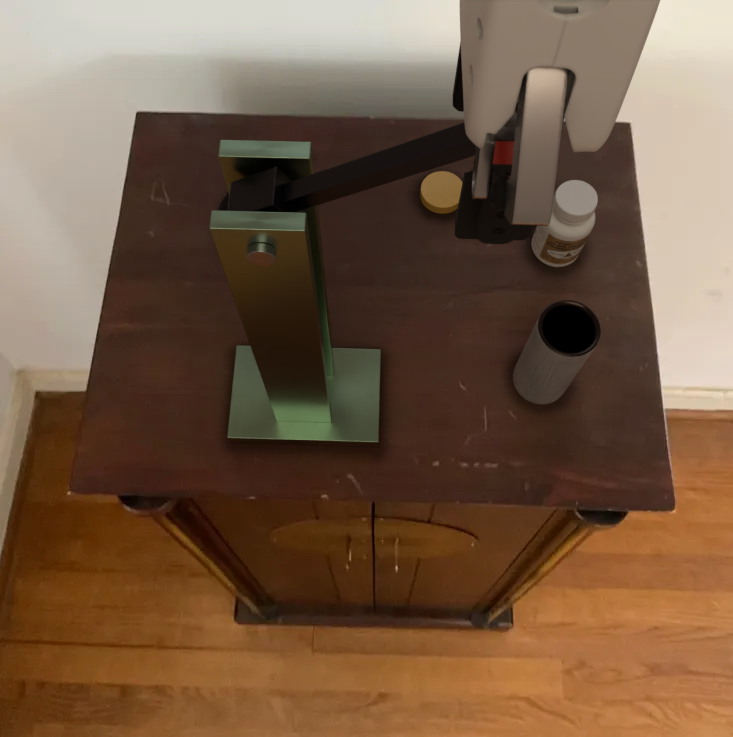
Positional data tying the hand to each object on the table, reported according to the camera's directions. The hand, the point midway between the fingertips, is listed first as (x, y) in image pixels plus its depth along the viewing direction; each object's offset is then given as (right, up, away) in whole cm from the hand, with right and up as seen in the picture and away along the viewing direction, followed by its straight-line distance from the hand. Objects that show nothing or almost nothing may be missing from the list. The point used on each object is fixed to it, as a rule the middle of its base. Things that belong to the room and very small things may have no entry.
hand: (489, 165), depth 34 cm
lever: (-5, -1, +2) cm, 5 cm away
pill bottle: (+12, +2, +35) cm, 37 cm away
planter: (+9, -10, +30) cm, 33 cm away
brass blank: (+2, +7, +37) cm, 38 cm away
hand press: (-10, -11, +29) cm, 33 cm away
